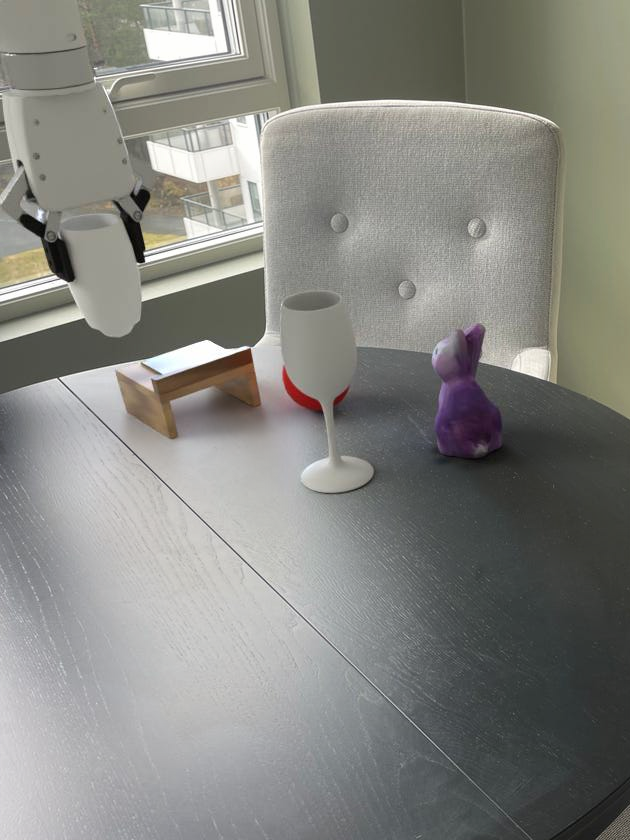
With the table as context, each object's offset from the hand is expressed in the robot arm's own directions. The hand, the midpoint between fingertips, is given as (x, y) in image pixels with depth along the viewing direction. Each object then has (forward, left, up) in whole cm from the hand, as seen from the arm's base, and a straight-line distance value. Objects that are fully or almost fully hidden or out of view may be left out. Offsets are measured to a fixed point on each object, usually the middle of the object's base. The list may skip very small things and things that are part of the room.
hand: (101, 268), depth 99 cm
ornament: (-4, +26, -26) cm, 37 cm away
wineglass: (+13, +16, -26) cm, 33 cm away
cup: (0, 0, -16) cm, 16 cm away
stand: (-17, +14, -26) cm, 34 cm away
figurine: (+18, +32, -26) cm, 45 cm away
